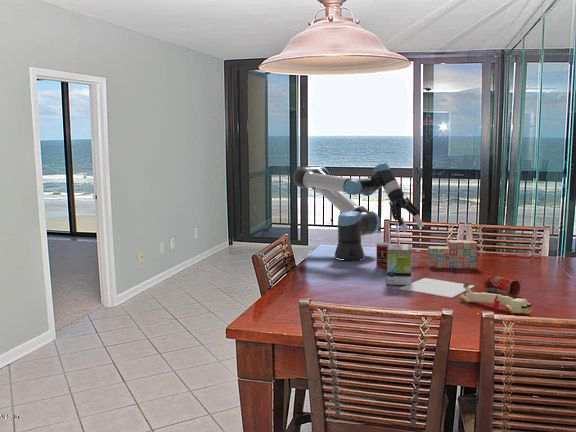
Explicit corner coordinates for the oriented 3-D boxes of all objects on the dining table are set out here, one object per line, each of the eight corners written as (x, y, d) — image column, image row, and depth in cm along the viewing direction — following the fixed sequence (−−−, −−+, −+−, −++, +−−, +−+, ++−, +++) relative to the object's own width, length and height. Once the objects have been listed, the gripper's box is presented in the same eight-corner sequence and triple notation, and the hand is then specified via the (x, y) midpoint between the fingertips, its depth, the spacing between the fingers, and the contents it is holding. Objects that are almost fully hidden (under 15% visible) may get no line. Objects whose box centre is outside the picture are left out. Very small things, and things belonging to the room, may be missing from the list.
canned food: (374, 267, 261) (374, 244, 260) (379, 264, 268) (379, 241, 267) (389, 269, 257) (390, 245, 256) (395, 265, 264) (395, 242, 263)
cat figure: (456, 307, 201) (523, 316, 182) (455, 283, 200) (522, 290, 181) (471, 301, 207) (537, 310, 188) (470, 278, 207) (536, 285, 187)
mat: (399, 289, 221) (399, 288, 221) (424, 278, 238) (424, 277, 238) (451, 298, 207) (451, 297, 207) (474, 286, 223) (474, 285, 223)
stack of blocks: (429, 268, 259) (430, 242, 257) (427, 265, 265) (428, 239, 264) (476, 268, 257) (477, 242, 255) (473, 265, 263) (474, 240, 262)
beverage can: (492, 289, 219) (493, 273, 218) (520, 296, 209) (521, 279, 208) (481, 292, 215) (481, 275, 214) (509, 299, 205) (509, 281, 204)
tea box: (411, 285, 225) (411, 249, 223) (386, 285, 227) (386, 249, 225) (411, 277, 239) (411, 243, 238) (387, 277, 241) (387, 243, 240)
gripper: (384, 189, 265) (405, 228, 259) (413, 185, 282) (433, 221, 276) (373, 197, 270) (393, 235, 264) (402, 193, 287) (422, 228, 281)
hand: (414, 228), depth 270 cm, fingers open, 13 cm apart
